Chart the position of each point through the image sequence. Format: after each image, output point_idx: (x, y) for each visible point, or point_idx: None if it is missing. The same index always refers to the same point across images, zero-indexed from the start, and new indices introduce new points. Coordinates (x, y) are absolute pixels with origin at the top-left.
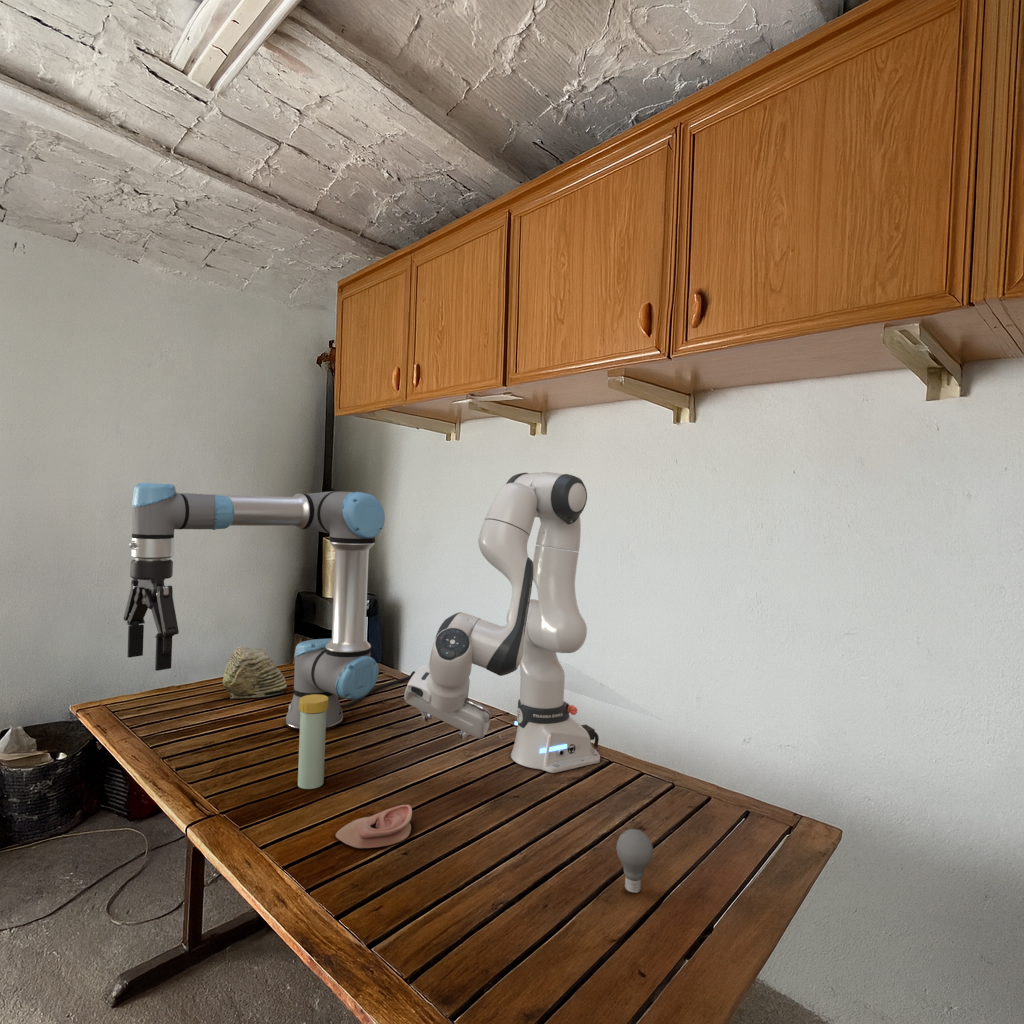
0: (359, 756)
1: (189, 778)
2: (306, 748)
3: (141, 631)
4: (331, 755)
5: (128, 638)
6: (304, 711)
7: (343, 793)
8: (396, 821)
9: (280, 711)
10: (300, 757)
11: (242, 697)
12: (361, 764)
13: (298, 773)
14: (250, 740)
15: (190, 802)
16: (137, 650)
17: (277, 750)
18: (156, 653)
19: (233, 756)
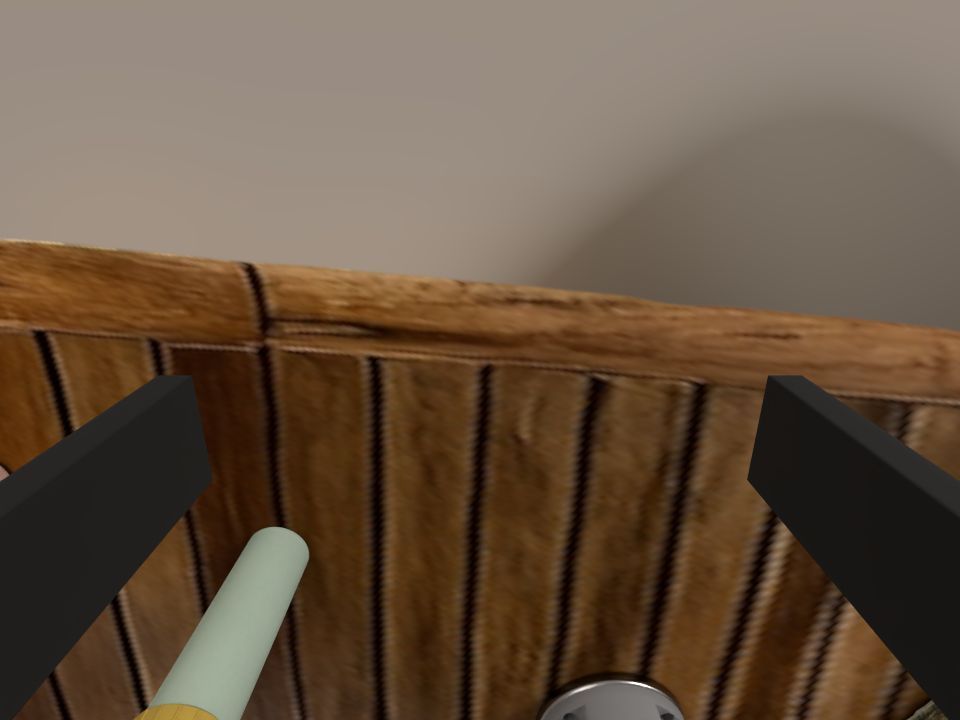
0: (343, 685)
1: (515, 379)
2: (213, 608)
3: (916, 651)
4: (393, 652)
5: (932, 471)
6: (154, 710)
7: (184, 570)
8: None
9: (750, 713)
10: (246, 581)
11: (930, 703)
12: (299, 666)
13: (274, 549)
14: (628, 582)
15: (372, 321)
16: (781, 468)
17: (515, 593)
18: (69, 451)
19: (564, 510)
